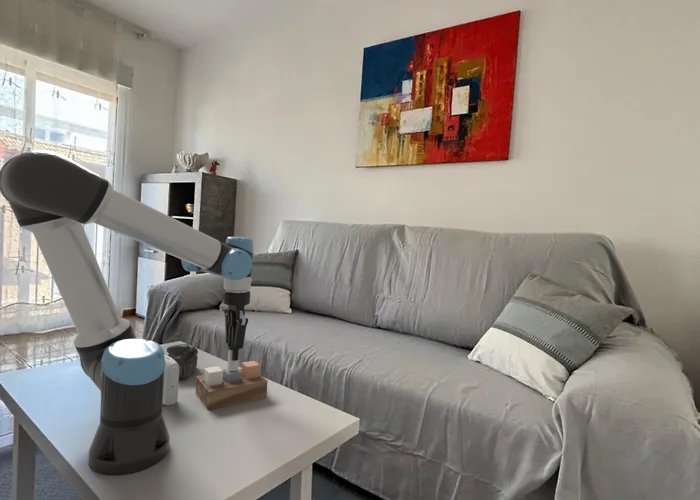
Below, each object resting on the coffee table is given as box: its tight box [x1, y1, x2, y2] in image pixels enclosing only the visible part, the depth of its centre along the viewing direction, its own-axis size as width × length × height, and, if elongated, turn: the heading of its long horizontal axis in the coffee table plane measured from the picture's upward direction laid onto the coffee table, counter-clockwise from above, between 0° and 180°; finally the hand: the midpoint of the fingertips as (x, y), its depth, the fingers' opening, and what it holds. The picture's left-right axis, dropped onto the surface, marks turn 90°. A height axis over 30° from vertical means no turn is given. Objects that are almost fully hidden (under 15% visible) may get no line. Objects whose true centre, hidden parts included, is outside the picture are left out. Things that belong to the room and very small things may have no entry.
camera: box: [166, 343, 199, 380], centre depth 130 cm, size 13×10×10 cm
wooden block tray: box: [195, 368, 268, 411], centre depth 117 cm, size 12×17×5 cm
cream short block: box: [203, 365, 224, 387], centre depth 113 cm, size 4×4×5 cm
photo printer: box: [162, 354, 180, 406], centre depth 111 cm, size 10×4×12 cm, turn 56°
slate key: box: [222, 368, 242, 383], centre depth 116 cm, size 4×4×5 cm
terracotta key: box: [240, 360, 260, 380], centre depth 120 cm, size 4×4×5 cm
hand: (232, 369), depth 116 cm, fingers closed
